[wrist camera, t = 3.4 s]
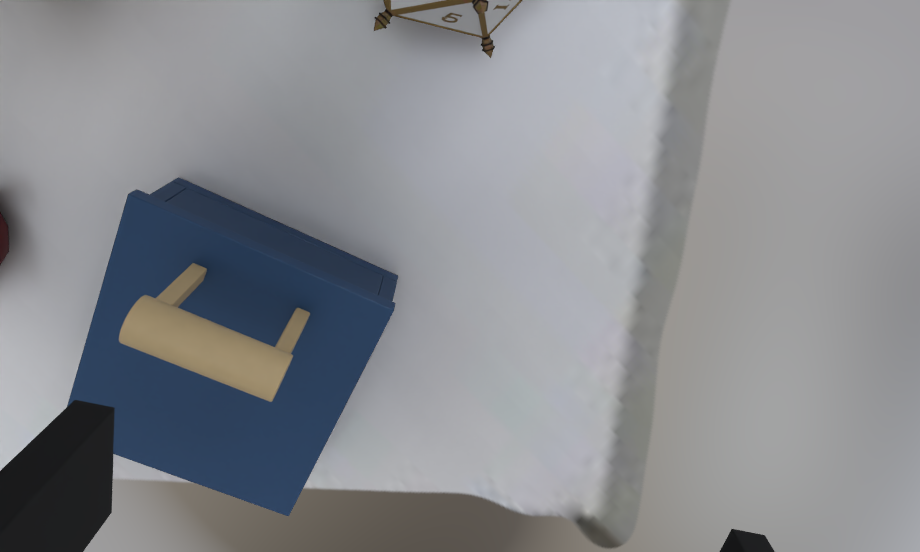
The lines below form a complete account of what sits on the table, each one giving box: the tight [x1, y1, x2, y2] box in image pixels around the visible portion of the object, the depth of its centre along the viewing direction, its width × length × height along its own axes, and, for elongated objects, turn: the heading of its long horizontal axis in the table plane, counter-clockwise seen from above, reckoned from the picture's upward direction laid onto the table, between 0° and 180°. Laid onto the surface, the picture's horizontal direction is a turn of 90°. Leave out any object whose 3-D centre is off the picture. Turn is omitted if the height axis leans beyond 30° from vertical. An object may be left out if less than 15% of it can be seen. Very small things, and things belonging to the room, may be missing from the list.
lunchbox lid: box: [67, 190, 395, 516], centre depth 27 cm, size 14×13×7 cm
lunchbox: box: [150, 178, 398, 301], centre depth 33 cm, size 14×13×5 cm
